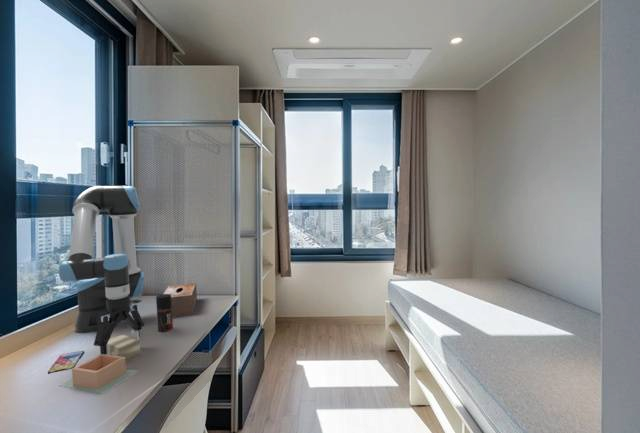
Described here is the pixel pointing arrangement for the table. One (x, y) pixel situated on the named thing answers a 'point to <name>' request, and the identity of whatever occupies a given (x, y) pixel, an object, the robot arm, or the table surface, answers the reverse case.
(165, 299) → the deodorant
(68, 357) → the smartphone
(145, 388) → the table surface
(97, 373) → the peach open-top box
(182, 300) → the tissue box cover
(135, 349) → the beige block
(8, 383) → the table surface
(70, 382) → the felt mat
